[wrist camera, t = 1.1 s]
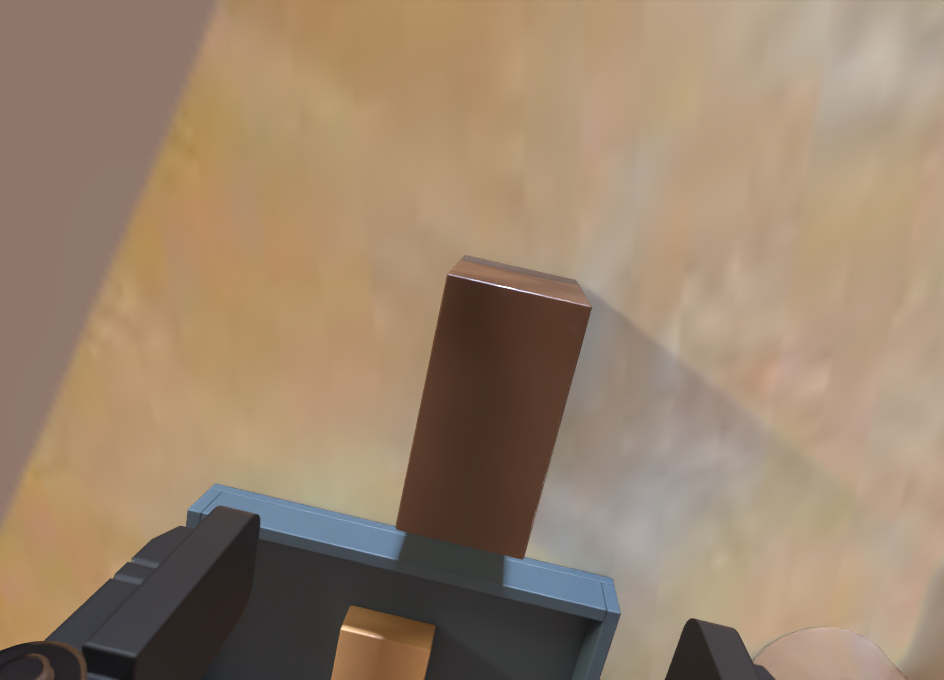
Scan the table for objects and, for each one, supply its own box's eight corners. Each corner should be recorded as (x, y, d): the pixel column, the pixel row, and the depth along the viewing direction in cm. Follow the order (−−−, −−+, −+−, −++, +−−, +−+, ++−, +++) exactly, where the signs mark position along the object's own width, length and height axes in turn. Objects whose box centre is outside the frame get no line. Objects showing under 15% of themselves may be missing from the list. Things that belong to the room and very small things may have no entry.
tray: (613, 578, 26) (621, 613, 24) (546, 788, 29) (548, 836, 27) (214, 482, 27) (187, 509, 25) (190, 699, 30) (163, 740, 28)
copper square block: (436, 624, 27) (431, 651, 26) (419, 695, 28) (413, 724, 27) (350, 603, 27) (340, 628, 26) (337, 674, 28) (326, 702, 27)
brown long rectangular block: (576, 279, 23) (592, 306, 18) (523, 484, 26) (523, 560, 20) (464, 254, 24) (447, 273, 18) (421, 460, 26) (394, 529, 20)
